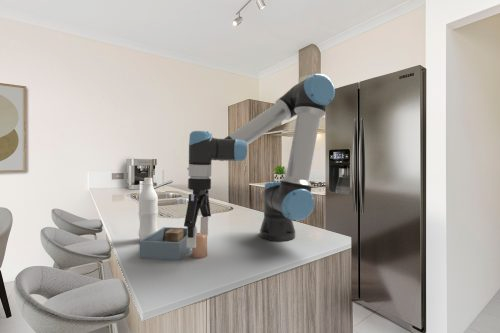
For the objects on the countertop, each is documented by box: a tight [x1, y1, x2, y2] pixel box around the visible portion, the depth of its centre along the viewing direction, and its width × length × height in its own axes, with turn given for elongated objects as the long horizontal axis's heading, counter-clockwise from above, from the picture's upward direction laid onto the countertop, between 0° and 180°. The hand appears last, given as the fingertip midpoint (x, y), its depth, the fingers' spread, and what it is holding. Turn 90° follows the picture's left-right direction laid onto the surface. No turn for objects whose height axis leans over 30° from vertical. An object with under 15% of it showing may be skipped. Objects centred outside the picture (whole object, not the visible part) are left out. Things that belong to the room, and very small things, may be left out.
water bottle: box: [138, 177, 159, 241], centre depth 100 cm, size 7×7×25 cm
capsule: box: [191, 232, 208, 259], centre depth 85 cm, size 5×5×7 cm
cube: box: [165, 229, 183, 242], centre depth 95 cm, size 5×5×5 cm
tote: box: [138, 226, 198, 261], centre depth 90 cm, size 14×18×6 cm
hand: (198, 240), depth 85 cm, fingers open, 13 cm apart
